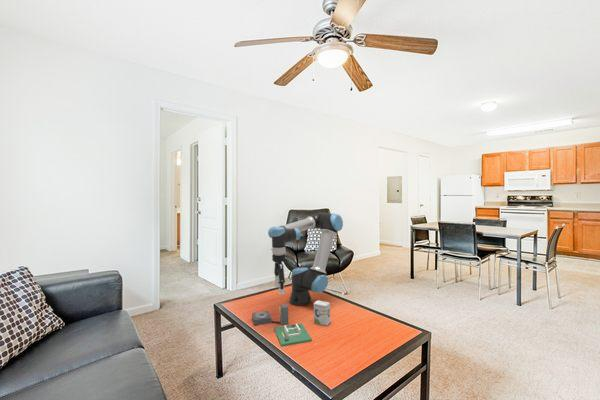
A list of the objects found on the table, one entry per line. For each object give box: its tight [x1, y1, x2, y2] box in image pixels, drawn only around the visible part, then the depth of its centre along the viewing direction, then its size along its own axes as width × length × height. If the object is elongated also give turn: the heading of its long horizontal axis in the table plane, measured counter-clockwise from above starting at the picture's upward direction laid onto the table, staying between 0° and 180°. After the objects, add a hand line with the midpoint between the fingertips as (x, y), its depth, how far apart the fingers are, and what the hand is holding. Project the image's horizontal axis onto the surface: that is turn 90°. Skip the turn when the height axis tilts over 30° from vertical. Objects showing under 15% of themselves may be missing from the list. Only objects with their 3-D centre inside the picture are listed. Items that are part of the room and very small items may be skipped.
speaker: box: [251, 310, 273, 326], centre depth 165 cm, size 10×10×4 cm
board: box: [274, 322, 313, 347], centre depth 148 cm, size 16×18×4 cm
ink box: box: [313, 299, 331, 326], centre depth 161 cm, size 9×5×12 cm, turn 62°
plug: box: [278, 303, 289, 326], centre depth 161 cm, size 5×4×10 cm
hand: (279, 290), depth 161 cm, fingers open, 13 cm apart
